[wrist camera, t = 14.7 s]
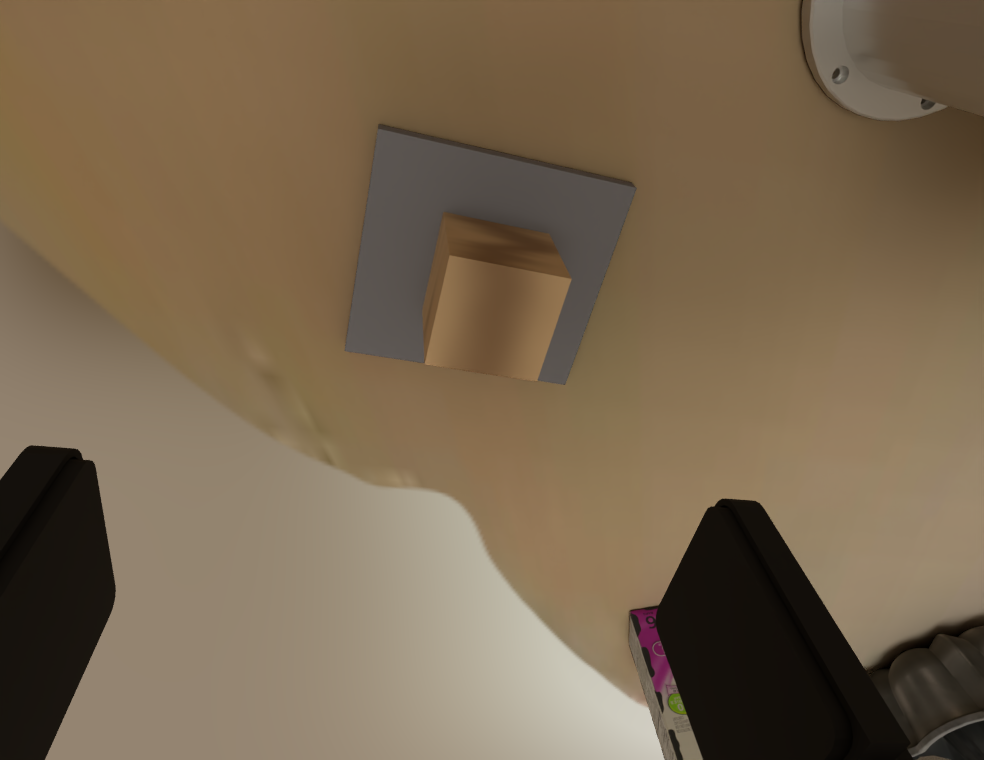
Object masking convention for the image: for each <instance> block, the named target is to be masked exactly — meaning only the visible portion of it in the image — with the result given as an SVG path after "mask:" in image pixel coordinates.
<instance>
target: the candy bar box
mask: <svg viewBox="0 0 984 760" xmlns="http://www.w3.org/2000/svg"><path fill="white" fill-rule="evenodd" d="M657 609H658V607H653V608H646V609H640V610H634V611H630V616H629V620H630V629H629V646H630V649H631V653H632V656H633V659H634V662H635V665H636V668H637V671H638V674H639V678H640V681H641V684H642V687H643V691H644V694H645V697H646V700H647V703H648V706H649V710H650V713H651V716H652V720H653V723H654V726H655V729H656V733H657V736H658V739H659V742H660V745H661V748H662V752H663V755H664V758H665V760H703V758H702V755H701V753H700V750H699V747H698V744H697V742H696V739H695V736H694V733H693V730H692V728H691V725H690V722H689V719H688V716H687V714H686V711H685V708H684V705H683V702H682V700H681V697H680V694H679V691H678V688H677V686H676V683H675V680H674V677H673V675H672V672H671V669H670V666H669V663H668V661H667V658H666V655H665V652H664V649H663V647H662V644H661V641H660V638H659V635H658V632H657V629H656V612H657Z"/></svg>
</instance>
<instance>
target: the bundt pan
mask: <svg viewBox="0 0 984 760" xmlns="http://www.w3.org/2000/svg"><path fill="white" fill-rule="evenodd" d="M869 677H870V679H871V680H872V682H873V683H874V685H875V687H876V688H877V690H878V691H879V693H880V695H881V696H882V698H883V699H884V701H885V703H886V704H887V706H888V707H889V709H890V711H891V712H892V714H893V715H894V717H895V719H896V720H897V722H898V723H899V725H900V727H901V728H902V730H903V731H904V733H905V735H906V736H907V738H908V739H909V741H910V743H911V744H910V745H909V746H908V747H907V750H908V751H909V753H910V754H911V756H912V758H913V759H914V760H917V759H918V758H919V757H924V756H933V755H934V756H938V757H942V758H946V759H950V760H984V626H980V627H975V628H972V629H969V630H967V631H965V632H963V633H962V634H961V635H959V636H958V637H953V636H949V635H945V634H938V635H936V636H935V638H934V640H933V642H932V644H931V645H930V647H929V649H927V648H915V649H910V650H907V651H905V652H903V653H902V654H900V655H899V656H898V657H897V658H896V659H895V660H894V662H893V663H892V665H891V668H890V669H879V670H876V671H874V672H873V673H872V674H871V675H870V676H869Z"/></svg>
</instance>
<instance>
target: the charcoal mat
mask: <svg viewBox="0 0 984 760" xmlns="http://www.w3.org/2000/svg"><path fill="white" fill-rule="evenodd" d="M636 189H637V188H636V187H635V186H634V185H633V184H632V183H631V182H627V181H623V180H618V179H614V178H610V177H605V176H601V175H597V174H592V173H588V172H584V171H579V170H575V169H571V168H566V167H562V166H558V165H553V164H549V163H545V162H540V161H536V160H532V159H527V158H523V157H519V156H514V155H510V154H506V153H501V152H497V151H493V150H488V149H484V148H480V147H475V146H471V145H467V144H462V143H458V142H454V141H449V140H445V139H441V138H437V137H432V136H428V135H424V134H419V133H415V132H411V131H406V130H402V129H398V128H393V127H389V126H385V125H380V124H379V126H378V132H377V139H376V145H375V152H374V159H373V165H372V172H371V179H370V185H369V192H368V199H367V205H366V212H365V219H364V225H363V232H362V239H361V245H360V252H359V259H358V265H357V272H356V279H355V285H354V292H353V299H352V305H351V312H350V319H349V325H348V332H347V339H346V345H345V351H348V352H355V353H361V354H368V355H374V356H381V357H387V358H394V359H400V360H407V361H413V362H420V363H425V362H424V340H423V317H422V309H423V304H424V300H425V295H426V290H427V286H428V281H429V276H430V272H431V267H432V262H433V258H434V253H435V249H436V244H437V239H438V235H439V230H440V225H441V221H442V216H443V212H447V213H452V214H456V215H461V216H466V217H471V218H476V219H480V220H485V221H490V222H495V223H500V224H504V225H509V226H514V227H519V228H524V229H528V230H533V231H538V232H543V233H548V234H550V236H551V238H552V240H553V242H554V244H555V246H556V248H557V251H558V253H559V255H560V257H561V259H562V261H563V263H564V265H565V267H566V269H567V271H568V273H569V275H570V277H571V279H572V280H571V283H570V285H569V288H568V291H567V294H566V297H565V300H564V303H563V306H562V309H561V312H560V315H559V318H558V321H557V324H556V327H555V330H554V333H553V336H552V339H551V342H550V345H549V348H548V350H547V353H546V356H545V359H544V362H543V365H542V368H541V371H540V374H539V377H538V380H537V381H544V382H550V383H557V384H563V385H565V384H566V381H567V378H568V376H569V373H570V370H571V367H572V365H573V362H574V359H575V356H576V354H577V351H578V348H579V345H580V343H581V340H582V337H583V334H584V332H585V329H586V326H587V323H588V321H589V318H590V315H591V312H592V310H593V307H594V304H595V301H596V299H597V296H598V293H599V290H600V288H601V285H602V282H603V279H604V277H605V274H606V271H607V268H608V266H609V263H610V260H611V257H612V255H613V252H614V249H615V246H616V244H617V241H618V238H619V235H620V233H621V230H622V227H623V224H624V222H625V219H626V216H627V213H628V211H629V208H630V205H631V202H632V200H633V197H634V194H635V191H636Z"/></svg>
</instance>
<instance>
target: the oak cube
mask: <svg viewBox="0 0 984 760" xmlns="http://www.w3.org/2000/svg"><path fill="white" fill-rule="evenodd" d="M571 280H572V279H571V277H570V275H569V273H568V271H567V269H566V267H565V265H564V263H563V261H562V259H561V257H560V255H559V253H558V251H557V248H556V246H555V244H554V242H553V240H552V238H551V236H550V234H548V233H543V232H538V231H533V230H528V229H524V228H519V227H514V226H509V225H504V224H500V223H495V222H490V221H485V220H480V219H476V218H471V217H466V216H461V215H456V214H452V213H447V212H443V216H442V221H441V225H440V230H439V235H438V239H437V244H436V249H435V253H434V258H433V262H432V267H431V272H430V276H429V281H428V286H427V290H426V295H425V300H424V304H423V309H422V317H423V340H424V362H425V365H432V366H438V367H445V368H451V369H458V370H464V371H471V372H477V373H483V374H490V375H496V376H503V377H509V378H516V379H522V380H529V381H535V382H537V380H538V377H539V374H540V371H541V368H542V365H543V362H544V359H545V356H546V353H547V350H548V348H549V345H550V342H551V339H552V336H553V333H554V330H555V327H556V324H557V321H558V318H559V315H560V312H561V309H562V306H563V303H564V300H565V297H566V294H567V291H568V288H569V285H570V283H571Z"/></svg>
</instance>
